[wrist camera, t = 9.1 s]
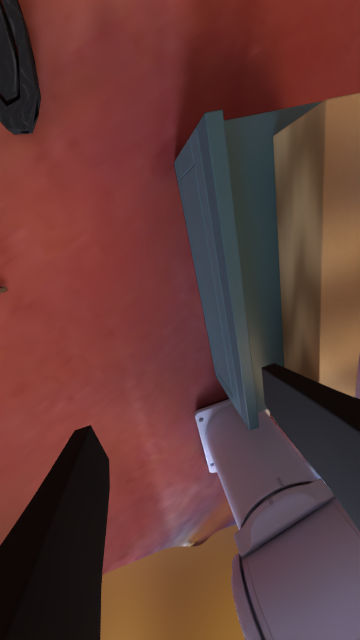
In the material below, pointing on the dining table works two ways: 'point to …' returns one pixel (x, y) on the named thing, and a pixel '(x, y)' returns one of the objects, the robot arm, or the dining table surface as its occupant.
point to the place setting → (3, 289)
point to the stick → (320, 241)
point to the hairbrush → (17, 72)
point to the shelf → (237, 245)
